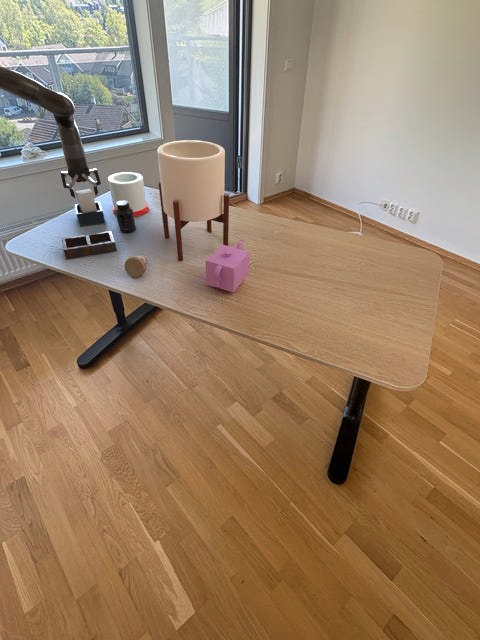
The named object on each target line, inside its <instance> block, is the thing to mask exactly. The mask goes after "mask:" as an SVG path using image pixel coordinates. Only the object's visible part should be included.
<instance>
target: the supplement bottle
mask: <svg viewBox="0 0 480 640" xmlns="http://www.w3.org/2000/svg"><path fill="white" fill-rule="evenodd" d="M115 216H116V221H117V225H118V229H119V232H120V233H121V234H125V235H128V234H129V235H130V234H133V233H135V232H136V231H137V226H136V220H135V217H134V214H133V210H132V209H131V208H130V205H129V202H128V201H119V202H117V210H116V215H115Z"/></svg>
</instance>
